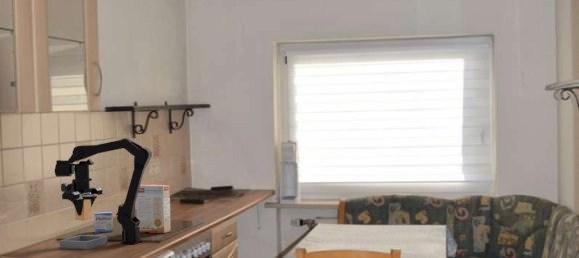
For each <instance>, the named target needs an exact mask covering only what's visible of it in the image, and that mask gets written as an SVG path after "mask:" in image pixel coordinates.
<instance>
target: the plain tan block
mask: <svg viewBox="0 0 579 258" xmlns="http://www.w3.org/2000/svg"><path fill="white" fill-rule="evenodd" d="M74 215H75V216H74V217H75V219H74V220H75V221H84V222H85V221H89V220H92V207H91V199H84V202H83V208H82V213H81V215H80V216H79V215H78V214H77V211H76V209H75V208H74Z"/></svg>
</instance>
